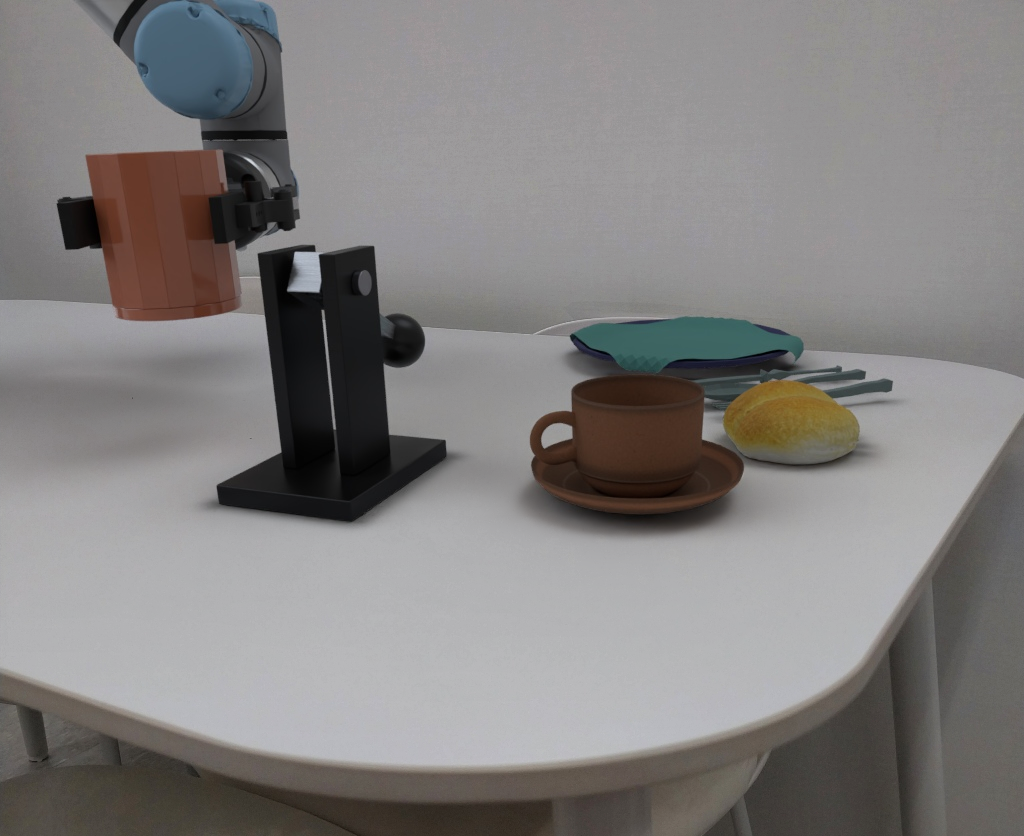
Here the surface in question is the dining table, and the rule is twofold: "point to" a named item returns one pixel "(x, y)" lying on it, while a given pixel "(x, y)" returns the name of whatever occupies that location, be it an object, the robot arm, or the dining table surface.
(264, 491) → the black stand
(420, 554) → the dining table surface
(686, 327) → the cutlery set
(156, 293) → the cup
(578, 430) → the cup and saucer
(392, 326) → the lever
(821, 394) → the bread roll
